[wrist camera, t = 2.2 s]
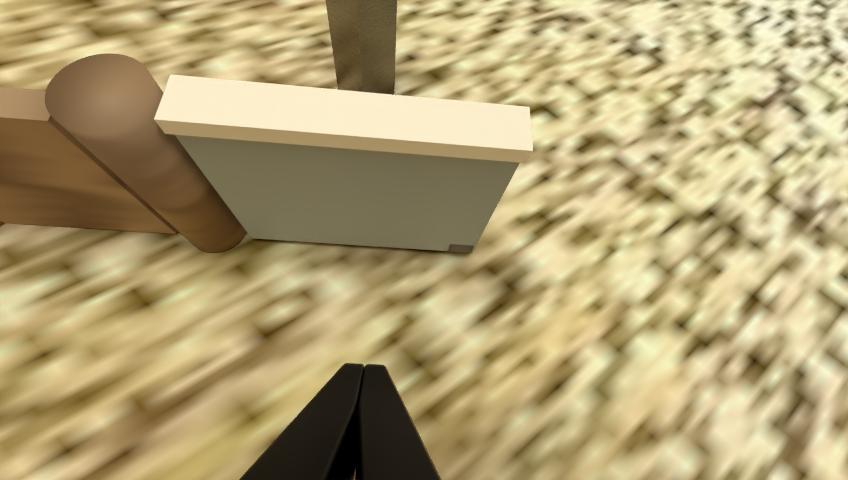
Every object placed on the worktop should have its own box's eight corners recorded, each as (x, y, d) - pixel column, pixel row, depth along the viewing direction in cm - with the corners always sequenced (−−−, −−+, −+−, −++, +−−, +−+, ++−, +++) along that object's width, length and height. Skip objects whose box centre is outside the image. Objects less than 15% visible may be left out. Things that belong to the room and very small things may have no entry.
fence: (253, 203, 23) (163, 58, 13) (241, 254, 21) (134, 133, 12) (-24, 183, 22) (-323, 13, 12) (-52, 235, 20) (-406, 90, 11)
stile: (364, 116, 26) (351, -67, 16) (334, 89, 26) (305, -104, 16) (397, 94, 26) (404, -93, 17) (368, 68, 27) (359, -126, 17)
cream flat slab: (250, 243, 22) (153, 119, 13) (257, 212, 22) (170, 74, 13) (473, 258, 22) (532, 150, 13) (472, 228, 23) (529, 106, 14)
